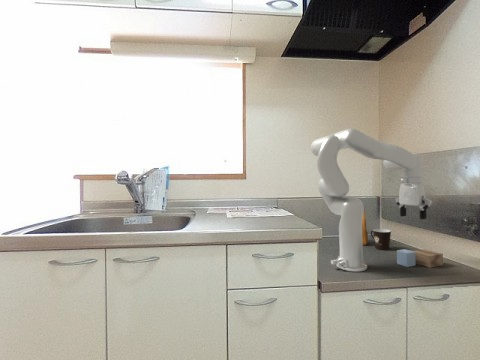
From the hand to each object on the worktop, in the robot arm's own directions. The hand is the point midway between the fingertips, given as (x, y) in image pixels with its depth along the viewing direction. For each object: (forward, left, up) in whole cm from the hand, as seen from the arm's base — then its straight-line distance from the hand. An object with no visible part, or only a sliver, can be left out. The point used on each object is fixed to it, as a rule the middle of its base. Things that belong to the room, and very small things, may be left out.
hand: (412, 217), depth 122 cm
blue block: (-8, -3, -20) cm, 22 cm away
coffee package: (-2, +34, -20) cm, 40 cm away
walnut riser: (+1, -6, -20) cm, 21 cm away
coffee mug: (+3, +21, -20) cm, 30 cm away
